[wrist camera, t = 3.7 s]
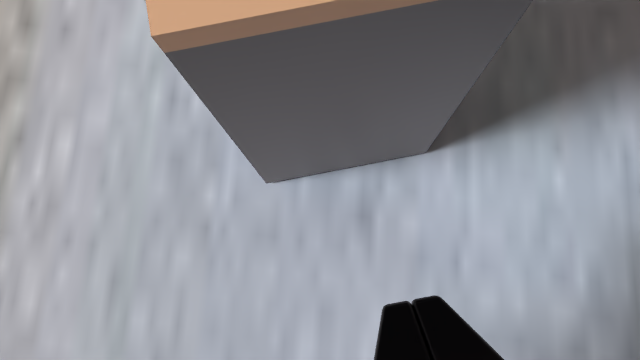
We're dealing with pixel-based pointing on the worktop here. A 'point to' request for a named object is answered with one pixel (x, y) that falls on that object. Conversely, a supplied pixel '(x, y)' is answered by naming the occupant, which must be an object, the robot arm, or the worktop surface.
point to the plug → (331, 72)
